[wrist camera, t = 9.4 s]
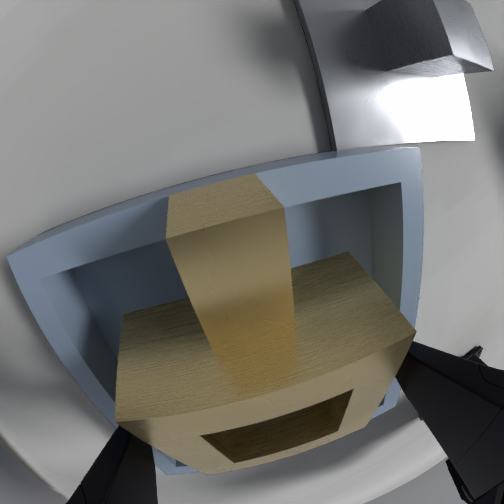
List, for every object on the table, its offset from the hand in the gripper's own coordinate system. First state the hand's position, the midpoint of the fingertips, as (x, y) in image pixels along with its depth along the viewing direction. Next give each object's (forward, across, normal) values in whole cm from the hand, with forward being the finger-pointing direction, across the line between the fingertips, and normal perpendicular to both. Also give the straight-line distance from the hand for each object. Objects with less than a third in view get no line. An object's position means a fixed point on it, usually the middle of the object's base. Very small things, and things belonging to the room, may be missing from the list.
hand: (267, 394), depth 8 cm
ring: (+2, 0, -2) cm, 2 cm away
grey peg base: (+3, -9, -11) cm, 15 cm away
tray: (+3, 0, 0) cm, 3 cm away
